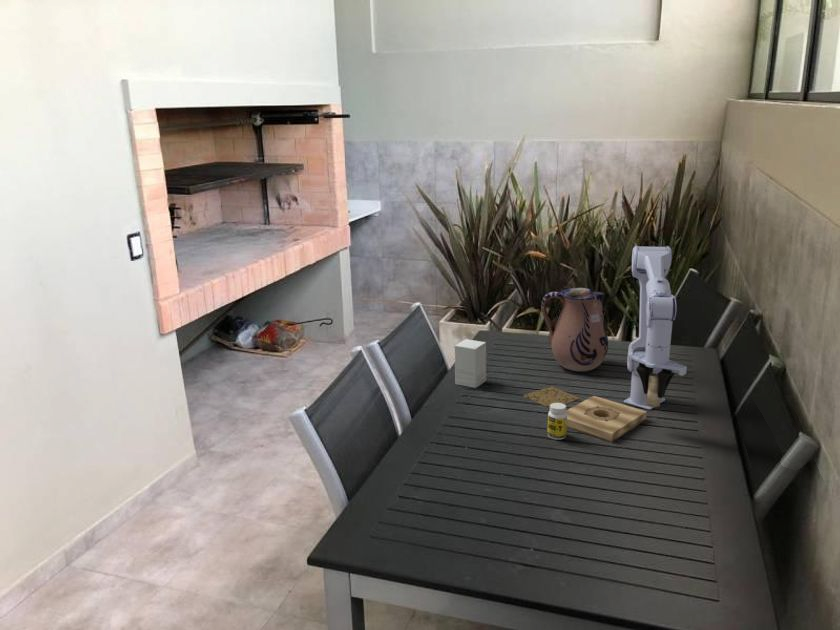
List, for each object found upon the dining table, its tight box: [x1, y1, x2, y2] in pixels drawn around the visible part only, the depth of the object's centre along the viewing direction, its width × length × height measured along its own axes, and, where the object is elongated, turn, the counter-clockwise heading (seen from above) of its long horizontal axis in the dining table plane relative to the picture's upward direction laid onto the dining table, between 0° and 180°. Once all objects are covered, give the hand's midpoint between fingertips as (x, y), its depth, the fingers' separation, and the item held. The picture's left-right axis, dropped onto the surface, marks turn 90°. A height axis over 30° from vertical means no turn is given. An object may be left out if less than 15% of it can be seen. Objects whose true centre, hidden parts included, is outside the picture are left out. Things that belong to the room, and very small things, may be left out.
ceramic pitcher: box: [541, 287, 609, 373], centre depth 218 cm, size 18×21×25 cm
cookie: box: [523, 386, 582, 409], centre depth 198 cm, size 12×12×1 cm
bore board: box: [566, 395, 648, 443], centre depth 181 cm, size 18×16×2 cm
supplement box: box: [454, 338, 487, 389], centre depth 209 cm, size 7×7×13 cm
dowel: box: [647, 373, 661, 408], centre depth 173 cm, size 3×3×8 cm
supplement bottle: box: [546, 403, 568, 441], centre depth 173 cm, size 5×5×8 cm
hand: (654, 394), depth 174 cm, fingers closed on dowel, 3 cm apart
